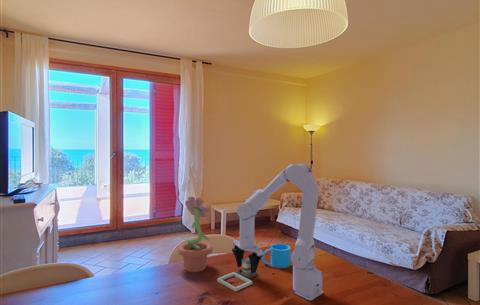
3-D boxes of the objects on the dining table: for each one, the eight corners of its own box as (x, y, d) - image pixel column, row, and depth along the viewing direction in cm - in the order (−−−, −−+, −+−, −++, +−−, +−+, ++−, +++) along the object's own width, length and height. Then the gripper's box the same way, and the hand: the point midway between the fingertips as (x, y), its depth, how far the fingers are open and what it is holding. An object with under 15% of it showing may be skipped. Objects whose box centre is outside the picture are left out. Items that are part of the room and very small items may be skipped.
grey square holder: (257, 277, 107) (257, 271, 107) (246, 282, 103) (246, 275, 103) (247, 272, 111) (247, 266, 111) (235, 276, 107) (235, 270, 107)
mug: (288, 262, 121) (288, 243, 121) (292, 270, 113) (292, 250, 113) (260, 262, 121) (260, 244, 121) (262, 270, 113) (263, 250, 113)
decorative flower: (221, 267, 116) (221, 195, 115) (201, 281, 103) (202, 200, 103) (192, 260, 122) (192, 192, 122) (170, 272, 110) (171, 197, 110)
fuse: (254, 274, 107) (254, 260, 107) (246, 277, 104) (246, 262, 104) (246, 271, 110) (247, 257, 110) (239, 274, 107) (239, 259, 107)
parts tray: (252, 286, 99) (252, 281, 99) (235, 294, 94) (235, 288, 94) (233, 277, 106) (233, 272, 106) (217, 283, 101) (217, 278, 101)
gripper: (268, 236, 104) (267, 272, 104) (241, 228, 115) (241, 261, 115) (254, 240, 100) (254, 278, 100) (228, 231, 110) (228, 265, 110)
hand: (246, 269), depth 107 cm, fingers open, 7 cm apart
